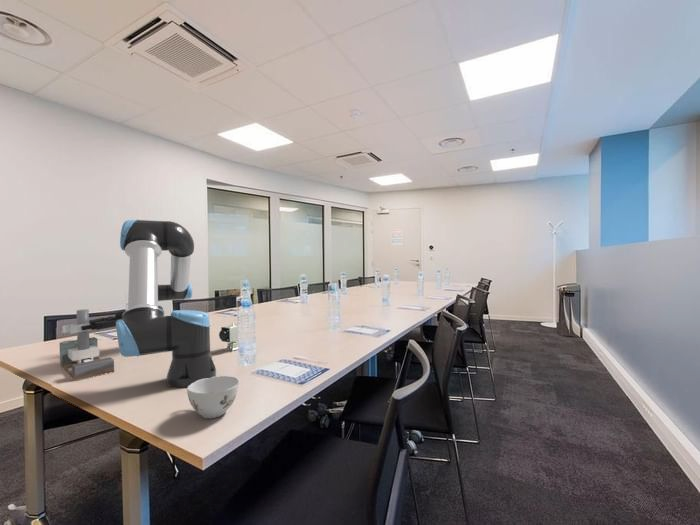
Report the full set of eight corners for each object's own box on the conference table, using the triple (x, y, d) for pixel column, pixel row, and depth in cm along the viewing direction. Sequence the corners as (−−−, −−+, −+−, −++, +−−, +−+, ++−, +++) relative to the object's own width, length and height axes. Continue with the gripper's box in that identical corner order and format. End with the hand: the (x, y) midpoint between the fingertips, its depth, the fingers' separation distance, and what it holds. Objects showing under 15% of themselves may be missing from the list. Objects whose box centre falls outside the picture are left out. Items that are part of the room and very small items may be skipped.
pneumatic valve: (247, 347, 150) (246, 321, 150) (226, 354, 140) (225, 326, 140) (238, 346, 153) (238, 320, 152) (217, 352, 142) (217, 325, 142)
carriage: (99, 360, 126) (98, 309, 126) (72, 365, 120) (71, 312, 120) (94, 356, 131) (92, 307, 131) (68, 361, 125) (66, 310, 125)
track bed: (114, 371, 119) (113, 346, 119) (75, 380, 110) (74, 353, 110) (94, 358, 136) (94, 336, 136) (60, 365, 128) (59, 341, 128)
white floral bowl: (249, 409, 87) (248, 379, 87) (207, 430, 76) (206, 396, 76) (214, 397, 95) (214, 370, 95) (172, 415, 85) (171, 384, 85)
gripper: (142, 328, 139) (82, 341, 117) (115, 326, 145) (52, 338, 123) (142, 310, 139) (81, 320, 117) (115, 309, 145) (52, 318, 123)
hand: (66, 329), depth 120 cm, fingers closed on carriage, 4 cm apart
